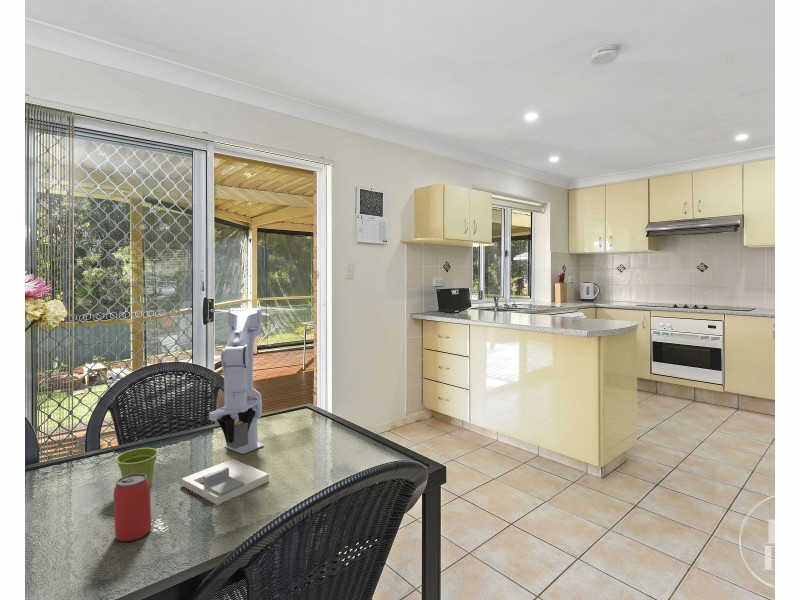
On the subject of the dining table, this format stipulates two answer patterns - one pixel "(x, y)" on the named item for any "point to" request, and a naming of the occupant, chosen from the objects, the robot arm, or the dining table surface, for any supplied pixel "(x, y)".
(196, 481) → the socket board
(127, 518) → the beer can
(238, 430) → the grey rectangular block
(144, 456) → the plant pot
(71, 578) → the dining table surface
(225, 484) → the shutter
